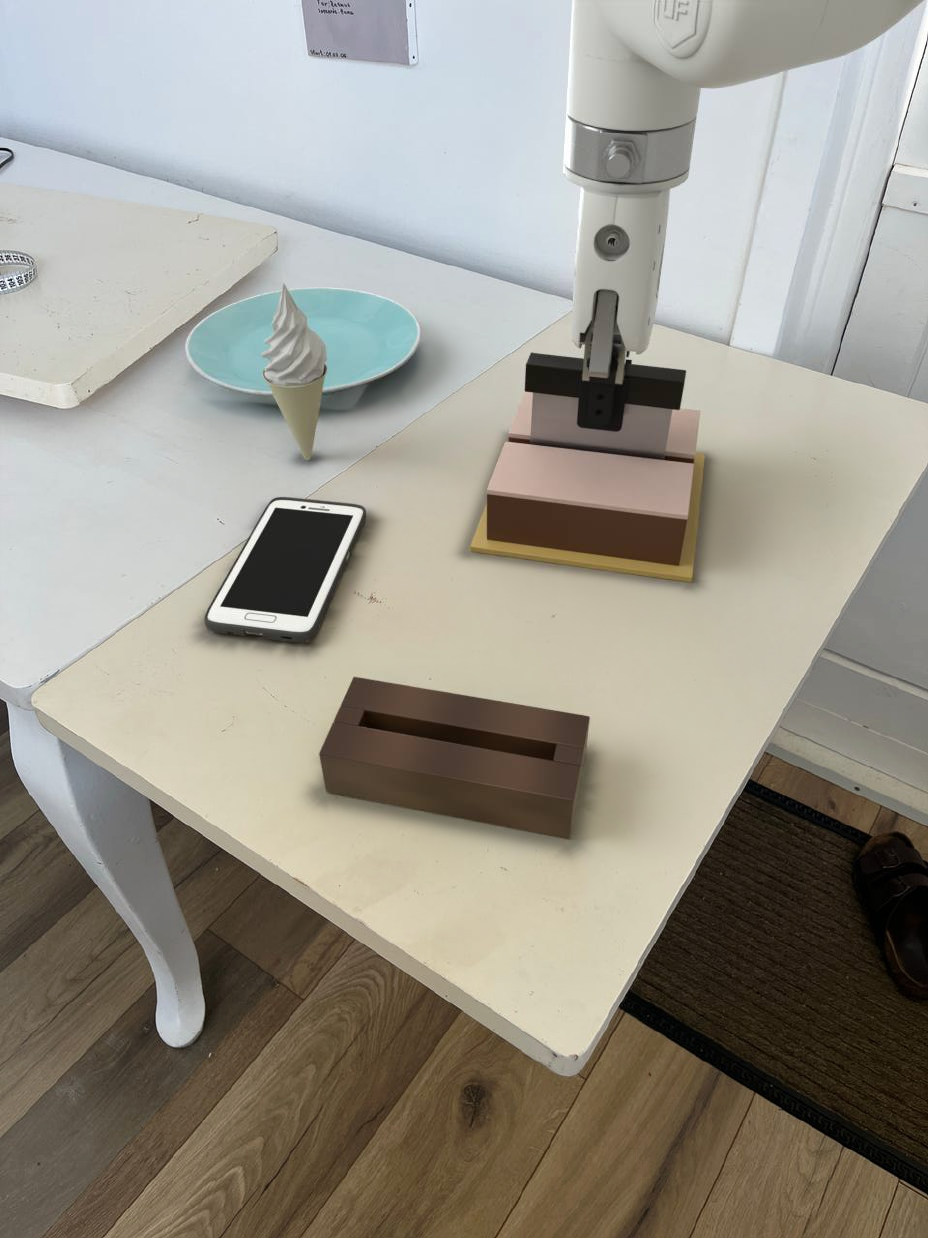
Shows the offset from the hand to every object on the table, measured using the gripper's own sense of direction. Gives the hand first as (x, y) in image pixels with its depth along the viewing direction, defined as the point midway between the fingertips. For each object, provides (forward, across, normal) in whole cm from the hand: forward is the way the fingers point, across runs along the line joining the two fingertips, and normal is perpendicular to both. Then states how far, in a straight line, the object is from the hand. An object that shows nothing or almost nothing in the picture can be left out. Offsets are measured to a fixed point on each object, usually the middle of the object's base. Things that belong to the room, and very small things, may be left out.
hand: (601, 416), depth 69 cm
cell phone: (+8, -13, +20) cm, 25 cm away
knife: (+6, 0, 0) cm, 6 cm away
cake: (+8, 0, 0) cm, 8 cm away
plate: (+8, +17, +30) cm, 35 cm away
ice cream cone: (+8, +1, +24) cm, 25 cm away
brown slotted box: (+8, -28, +4) cm, 29 cm away
